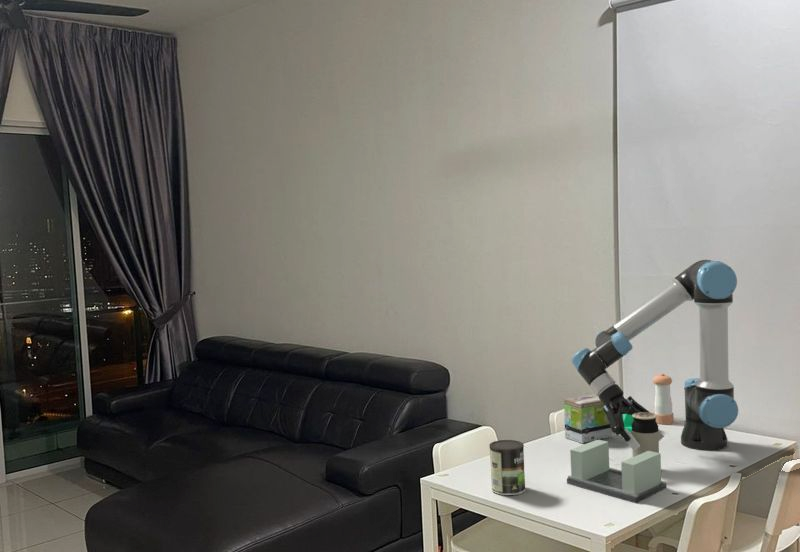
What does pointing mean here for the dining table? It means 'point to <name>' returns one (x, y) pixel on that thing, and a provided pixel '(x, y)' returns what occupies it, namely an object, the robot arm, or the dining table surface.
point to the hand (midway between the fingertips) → (649, 443)
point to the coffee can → (507, 467)
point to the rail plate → (613, 485)
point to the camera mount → (628, 422)
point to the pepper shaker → (663, 399)
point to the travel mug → (645, 432)
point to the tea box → (586, 419)
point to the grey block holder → (635, 470)
